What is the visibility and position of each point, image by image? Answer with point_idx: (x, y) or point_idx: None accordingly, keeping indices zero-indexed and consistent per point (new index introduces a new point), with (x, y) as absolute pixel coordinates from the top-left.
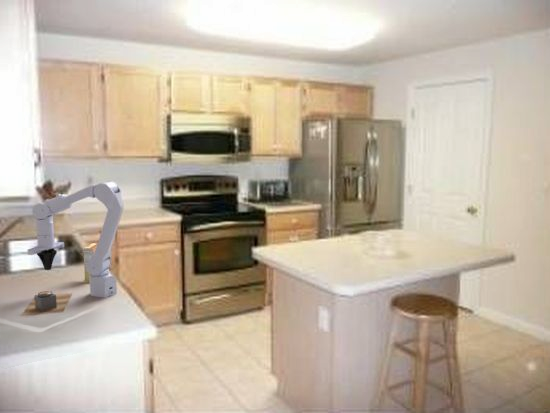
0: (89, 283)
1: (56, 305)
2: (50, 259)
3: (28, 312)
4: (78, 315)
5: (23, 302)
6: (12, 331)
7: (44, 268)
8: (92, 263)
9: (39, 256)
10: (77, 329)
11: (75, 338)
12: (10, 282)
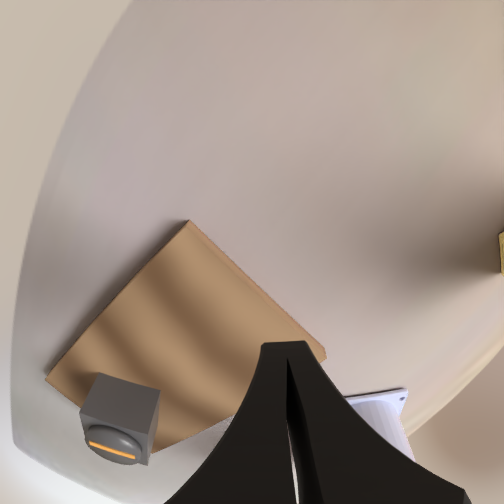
0: (500, 254)
1: (155, 432)
2: (300, 497)
3: (68, 382)
4: (184, 466)
5: (116, 216)
6: (24, 405)
7: (261, 352)
8: None
9: (186, 500)
10: (137, 489)
11: (117, 495)
12: None
